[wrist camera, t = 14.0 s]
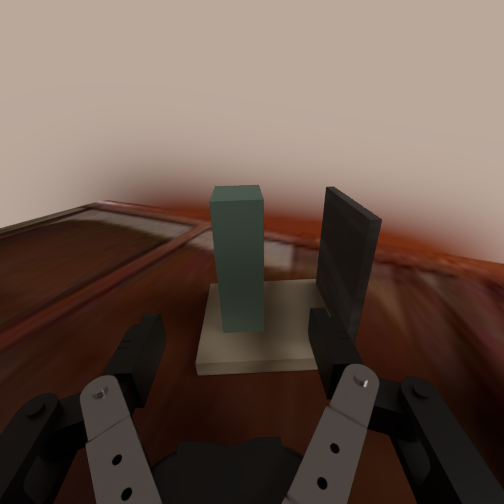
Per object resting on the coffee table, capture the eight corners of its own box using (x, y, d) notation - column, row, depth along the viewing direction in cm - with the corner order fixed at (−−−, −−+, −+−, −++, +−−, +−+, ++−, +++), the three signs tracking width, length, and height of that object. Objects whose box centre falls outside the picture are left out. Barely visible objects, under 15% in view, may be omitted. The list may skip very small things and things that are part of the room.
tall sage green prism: (260, 297, 29) (258, 184, 23) (264, 330, 25) (263, 199, 19) (225, 299, 29) (215, 186, 23) (223, 332, 24) (209, 201, 18)
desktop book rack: (318, 288, 33) (330, 184, 27) (355, 367, 22) (390, 224, 16) (211, 293, 33) (199, 189, 27) (197, 375, 22) (171, 233, 16)
